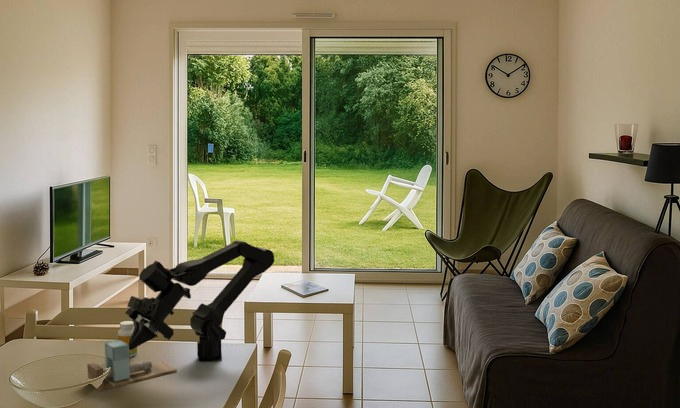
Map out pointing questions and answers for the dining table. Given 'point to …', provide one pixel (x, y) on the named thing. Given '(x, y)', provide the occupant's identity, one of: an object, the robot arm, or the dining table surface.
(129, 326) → the supplement bottle
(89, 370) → the pipe rig
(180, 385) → the dining table surface
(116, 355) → the light blue upright block
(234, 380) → the dining table surface
